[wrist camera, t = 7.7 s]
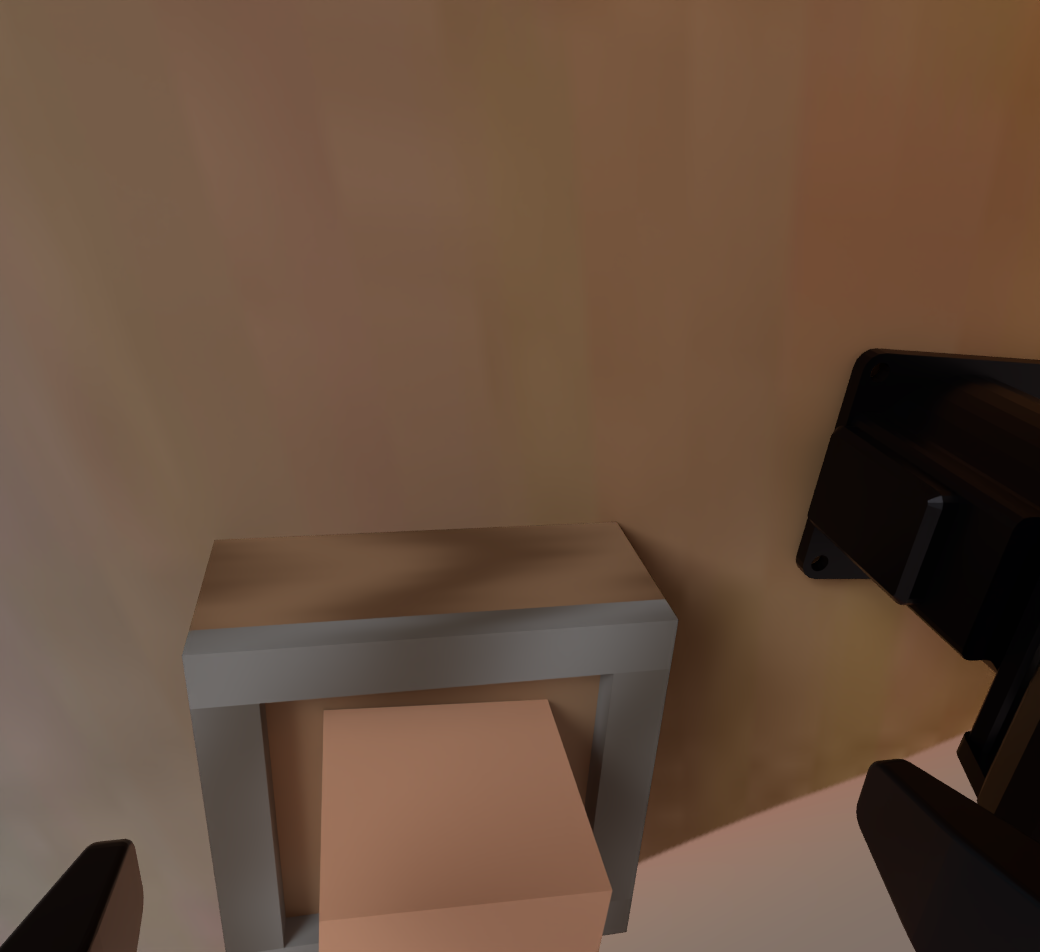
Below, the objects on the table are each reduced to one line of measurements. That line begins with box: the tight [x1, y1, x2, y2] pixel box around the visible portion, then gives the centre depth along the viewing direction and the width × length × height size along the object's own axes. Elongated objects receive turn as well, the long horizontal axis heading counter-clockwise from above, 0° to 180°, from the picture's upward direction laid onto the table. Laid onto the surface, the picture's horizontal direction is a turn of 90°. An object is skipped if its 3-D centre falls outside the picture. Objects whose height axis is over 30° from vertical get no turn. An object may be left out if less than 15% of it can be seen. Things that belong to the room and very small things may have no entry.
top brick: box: [319, 699, 612, 952], centre depth 17 cm, size 5×5×5 cm
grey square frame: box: [182, 522, 678, 952], centre depth 21 cm, size 10×10×5 cm
